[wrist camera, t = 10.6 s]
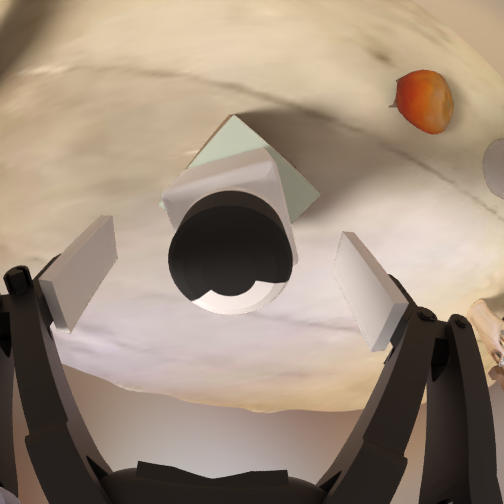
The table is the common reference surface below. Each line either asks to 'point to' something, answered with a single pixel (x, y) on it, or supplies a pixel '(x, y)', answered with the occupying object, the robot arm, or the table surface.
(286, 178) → the sage slab
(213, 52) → the table surface
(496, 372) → the wooden block
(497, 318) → the beer glass
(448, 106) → the fruit
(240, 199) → the medicine bottle
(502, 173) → the lumpy-topped squat cylinder
